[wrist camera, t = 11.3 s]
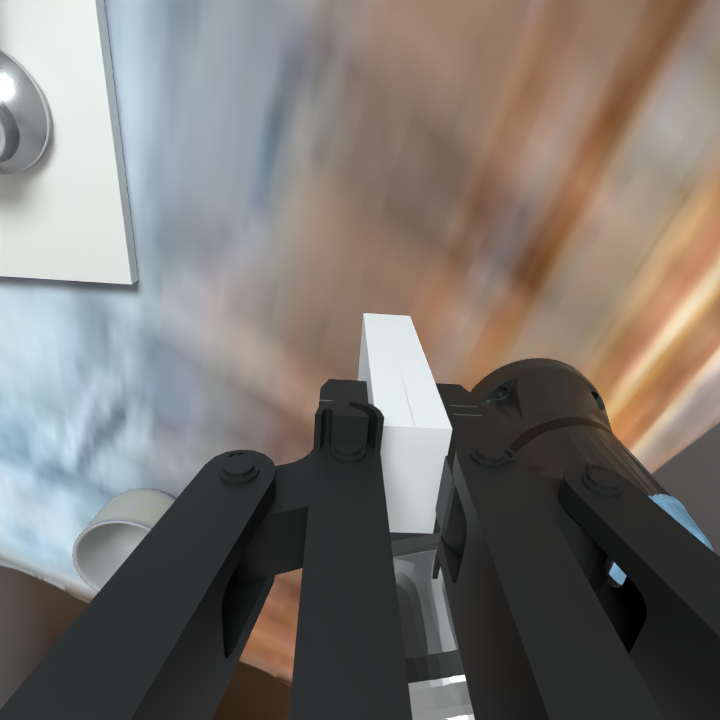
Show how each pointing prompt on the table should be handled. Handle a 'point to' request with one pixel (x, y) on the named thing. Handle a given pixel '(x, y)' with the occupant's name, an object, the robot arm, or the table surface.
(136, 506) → the teacup
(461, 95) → the table surface
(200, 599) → the robot arm
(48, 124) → the grey metal lever
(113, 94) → the base plate
